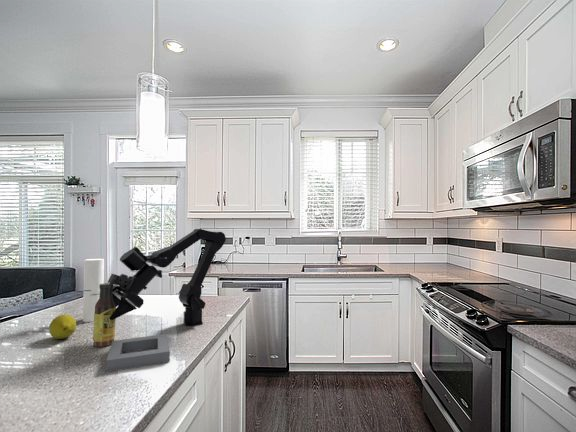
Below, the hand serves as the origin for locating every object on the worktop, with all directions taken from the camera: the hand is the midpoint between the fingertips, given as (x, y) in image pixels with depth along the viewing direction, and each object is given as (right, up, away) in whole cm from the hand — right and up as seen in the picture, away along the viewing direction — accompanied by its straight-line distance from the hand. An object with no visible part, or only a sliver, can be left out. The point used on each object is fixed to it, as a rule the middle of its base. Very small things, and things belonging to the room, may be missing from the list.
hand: (105, 316), depth 105 cm
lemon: (-18, -9, +5) cm, 21 cm away
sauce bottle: (0, -9, -1) cm, 9 cm away
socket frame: (+16, -9, -10) cm, 21 cm away
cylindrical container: (-21, -10, +27) cm, 36 cm away
